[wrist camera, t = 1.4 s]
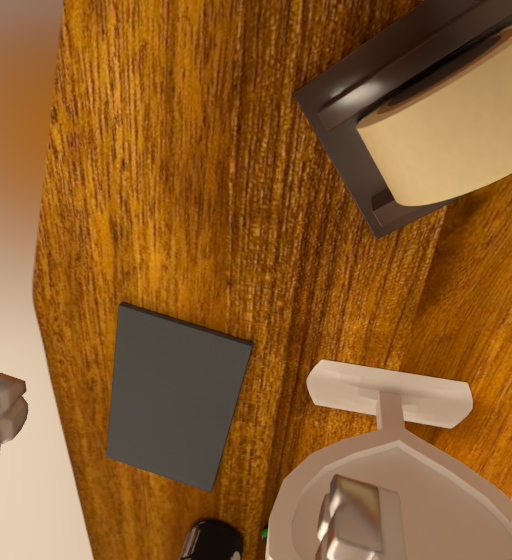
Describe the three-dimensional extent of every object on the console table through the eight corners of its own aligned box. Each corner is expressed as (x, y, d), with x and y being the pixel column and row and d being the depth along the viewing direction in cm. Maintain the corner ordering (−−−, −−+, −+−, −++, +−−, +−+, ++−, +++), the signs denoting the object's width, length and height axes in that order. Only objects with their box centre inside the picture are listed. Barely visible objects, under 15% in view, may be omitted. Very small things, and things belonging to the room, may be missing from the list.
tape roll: (389, 181, 27) (405, 229, 20) (354, 116, 26) (355, 138, 18) (540, 98, 24) (634, 115, 16) (508, 17, 23) (592, -7, 15)
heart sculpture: (494, 386, 34) (619, 669, 18) (475, 433, 36) (573, 719, 20) (298, 355, 36) (257, 581, 20) (292, 400, 38) (252, 635, 23)
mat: (121, 301, 37) (118, 304, 37) (253, 342, 36) (252, 346, 36) (108, 452, 47) (105, 457, 46) (212, 487, 46) (211, 492, 45)
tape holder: (375, 234, 30) (379, 257, 27) (294, 92, 27) (286, 96, 24) (600, 121, 25) (642, 130, 21) (530, -74, 22) (564, -100, 18)
